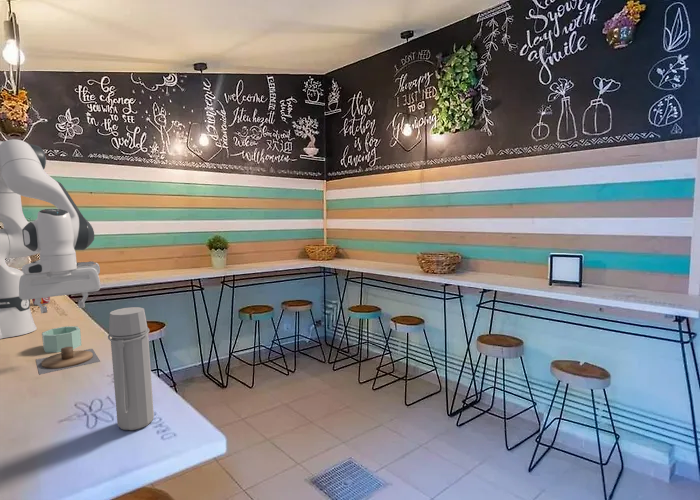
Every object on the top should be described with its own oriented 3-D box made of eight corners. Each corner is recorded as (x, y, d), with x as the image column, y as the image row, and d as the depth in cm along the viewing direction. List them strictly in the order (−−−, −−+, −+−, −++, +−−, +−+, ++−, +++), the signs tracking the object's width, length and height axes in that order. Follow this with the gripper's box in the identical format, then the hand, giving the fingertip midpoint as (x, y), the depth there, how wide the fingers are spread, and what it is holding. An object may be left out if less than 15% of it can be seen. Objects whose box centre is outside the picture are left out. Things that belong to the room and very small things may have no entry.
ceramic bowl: (36, 353, 138) (34, 335, 138) (59, 343, 148) (57, 326, 148) (66, 353, 138) (65, 335, 137) (87, 343, 148) (85, 326, 147)
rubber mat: (36, 361, 132) (35, 359, 132) (92, 350, 141) (92, 348, 141) (39, 376, 120) (39, 374, 120) (100, 362, 129) (100, 361, 129)
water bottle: (124, 416, 97) (116, 307, 94) (160, 414, 97) (153, 306, 94) (105, 438, 88) (95, 318, 85) (145, 436, 88) (136, 317, 85)
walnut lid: (30, 368, 124) (29, 355, 124) (62, 352, 137) (61, 341, 137) (73, 368, 124) (72, 356, 123) (102, 353, 137) (101, 341, 136)
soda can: (41, 306, 204) (38, 281, 202) (28, 305, 205) (26, 280, 204) (54, 302, 211) (51, 278, 209) (42, 302, 212) (39, 278, 211)
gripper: (97, 259, 136) (101, 302, 138) (15, 266, 123) (20, 313, 125) (100, 261, 131) (104, 306, 133) (16, 269, 118) (21, 318, 120)
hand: (63, 310), depth 129 cm, fingers open, 8 cm apart
